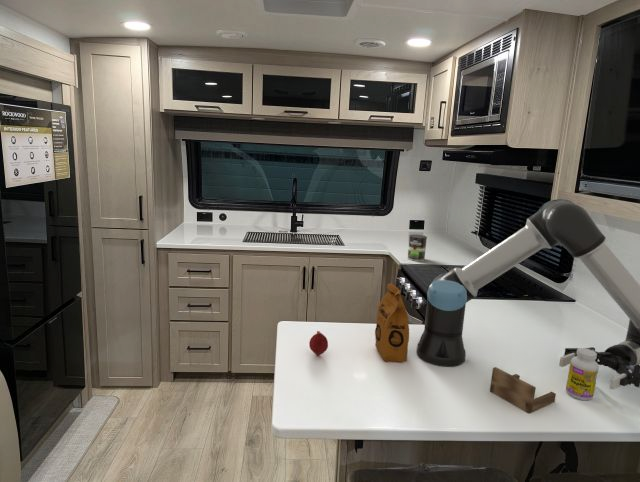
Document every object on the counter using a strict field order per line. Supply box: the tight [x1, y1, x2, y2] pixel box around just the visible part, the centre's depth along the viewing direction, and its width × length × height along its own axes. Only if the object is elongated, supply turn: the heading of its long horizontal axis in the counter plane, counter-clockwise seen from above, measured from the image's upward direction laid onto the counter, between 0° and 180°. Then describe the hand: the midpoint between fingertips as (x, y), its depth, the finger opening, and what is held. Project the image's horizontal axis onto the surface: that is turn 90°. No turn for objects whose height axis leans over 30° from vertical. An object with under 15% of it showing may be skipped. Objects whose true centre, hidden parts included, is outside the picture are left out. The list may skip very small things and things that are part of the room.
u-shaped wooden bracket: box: [489, 366, 557, 414], centre depth 121 cm, size 12×11×7 cm
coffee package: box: [374, 282, 410, 363], centre depth 141 cm, size 10×12×22 cm
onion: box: [308, 330, 329, 356], centre depth 140 cm, size 6×6×8 cm
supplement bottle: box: [565, 347, 600, 401], centre depth 123 cm, size 7×7×13 cm
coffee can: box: [407, 234, 428, 262], centre depth 270 cm, size 10×10×14 cm
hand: (585, 372), depth 123 cm, fingers open, 13 cm apart
